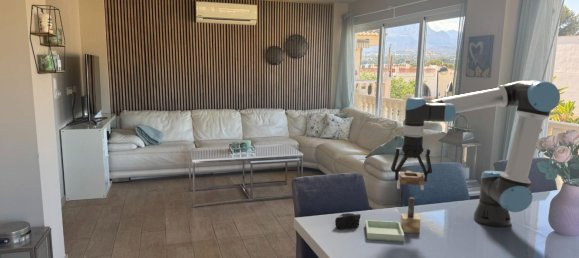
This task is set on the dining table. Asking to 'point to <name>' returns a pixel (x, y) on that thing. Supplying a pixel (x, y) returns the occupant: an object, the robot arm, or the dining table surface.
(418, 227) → the block with upright handle
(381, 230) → the tray
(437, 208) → the dining table surface
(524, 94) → the robot arm
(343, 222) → the mineral
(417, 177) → the ring
